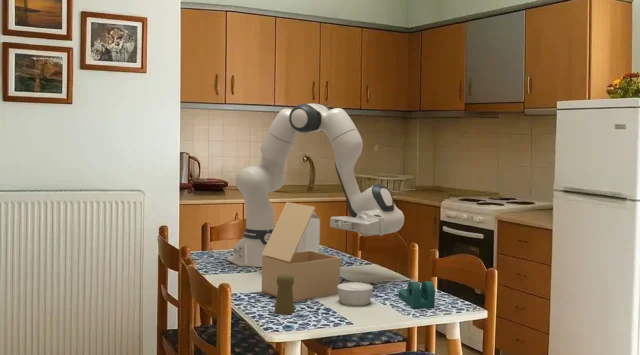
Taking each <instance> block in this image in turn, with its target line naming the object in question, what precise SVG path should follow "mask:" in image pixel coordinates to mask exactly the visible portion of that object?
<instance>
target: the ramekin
mask: <svg viewBox="0 0 640 355" xmlns="http://www.w3.org/2000/svg"><path fill="white" fill-rule="evenodd" d="M337 289H338V293H339V294H338V298H339V302H340V303H341V304H343V305H346V306H351V307H353V306H354V307H359V306H360V307H361V306H366V305H368V304H369V303H371V299H372V295H373V294H372V293H373V291H374V287H373V285H371V284H369V283H365V282H355V281H354V282H351V281H350V282H344V283H340V284H339V285H338V286H337Z"/></svg>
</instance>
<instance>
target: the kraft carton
mask: <svg viewBox="0 0 640 355" xmlns="http://www.w3.org/2000/svg"><path fill="white" fill-rule="evenodd" d="M282 274H288V275H291V276H293V278H294V284H293V285H292V290H293V299H294V303H295V302H299V301H304V300H312V299H317V298H323V297H328V296H336V295H339V293H338V289H337V286H338V285H339V284H341V257H338V256H334V255H330V254H326V253H322V252H319V253H318V252H314V251H302V252H297V251H295V254H294V256H293V258H292V260H291V262H287V261H284V260H280V259H277V258H273V257H269V256H262V267H261V293H263V294H266V295H269V296H272V297H275V298H277V292H278V285H277V282H276V280H277V277H278V276H279V275H282Z"/></svg>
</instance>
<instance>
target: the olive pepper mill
mask: <svg viewBox="0 0 640 355" xmlns="http://www.w3.org/2000/svg"><path fill="white" fill-rule="evenodd" d="M276 282H277V285H278V292H277V297H275V298H276V299H275V306H274V313H276V314H279V315H291V314H295V313H296V310H295V302H294V299H293V290H292V285H293V284H294V278H293V276H291V275H288V274H282V275H279V276H278V277H277V280H276Z"/></svg>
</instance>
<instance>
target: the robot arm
mask: <svg viewBox="0 0 640 355" xmlns="http://www.w3.org/2000/svg"><path fill="white" fill-rule="evenodd" d="M319 132H323V134H325V135H326V136H327V138H328V140H329V143H330V145H331V147H332V149H333V154H334V168H335V172H336V174H337V177H338V180H339V182H340V186H341V188H342V190H343V193H344V196H345V200H346V203H347V208H348V213H349V215H350V216H345V215H343V216H341V215H340V216H331V217H330V219H329V226H330V228H334V229H337V230H338V229H339V230H344V231H351V232H355V233H358V234H359V235H360V236H362V237H369V236H370V237H371V236H384V235H386V234H392V233H396V232H398V231H400V230H401V229H402V227H403V226H404V223H405V215H404V213H403V211H402V210H401V209H399V208H398V207H397V206H396V204H395V203H394V197H393V195H392V192H391V190H390V189H389V188H388V187H387V186H385V185H383V184H381V183H376V184H375V183H374V184H373V185H372V186H370V187H369V188H367V189H365V190H364V191H363V192H361V190H360V187H359V184H358V181H357V179H356V176H355V171H354V170H355V166H356V164H357V161H358V159H359V158H360V156H361V154H362V152H363V148H364V147H363V146H364V143H363V142H364V141H363V139H362V136H361V134H360V132H359V130H358V128H357V127H356V124H355V123H354V122H353V120H352V118H351V117H350V115H349V114H348V113H347V112H346V110H345V109H343V108H340V107H337V108H335V107H334V108H332V109H331V108H330V107H329V106H327V105H325V104H323V103H314V102H312V103H311V102H310V103H300V104H298V105H296V106H294V107H293V108H283V109H281V110H279V112H278V114H276V116H275V117H274V119H273V121H272V122H271V124H270V126H269V128H268V130H267V132H266V134H265V137H264V139H263V141H262V143H261V145H260V152H261V159H260V163H258V165H249V166H246V167H244V168H242V169H241V170H239V171H238V172H237V174H236V176H235V186H236V188H237V189H238V191H240V193H241V194H242V197H243V201H244V205H245V211H246V212H245V221H246V222H245V223H246V224H245V228H243V229H242V232H243V235H242V238H241V239H240V240H238V242H237V243H235V244H234V246H233V252H232V253H233V254H232V255H231V256H228V257H227V258H226V261H228V262H231V263H233V264H235V265H237V266H239V267H255V268H258V267H259V268H262V256H266V255H263V254H262V253H263V251H264V248H265V246H266V244H267V242H268V240H269V238H270V236H271V234H272V232H273V230H274V228H275V207H274V206H273V205H272V204H271V201H270V198H269V193H274V192H275V191H278V190H280V189H281V188H282V187H284V184H285V183H286V174H285V167H286V163H287V161H288V160H287V159H288V156H289V155H290V152H291V151H292V148H293V146H294V144H295V141H296V139H298V138H297V137H298V135H299V134H300V133H304V134H314V133H319Z"/></svg>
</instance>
